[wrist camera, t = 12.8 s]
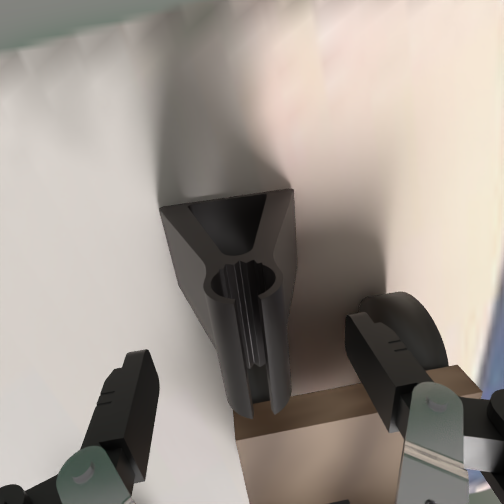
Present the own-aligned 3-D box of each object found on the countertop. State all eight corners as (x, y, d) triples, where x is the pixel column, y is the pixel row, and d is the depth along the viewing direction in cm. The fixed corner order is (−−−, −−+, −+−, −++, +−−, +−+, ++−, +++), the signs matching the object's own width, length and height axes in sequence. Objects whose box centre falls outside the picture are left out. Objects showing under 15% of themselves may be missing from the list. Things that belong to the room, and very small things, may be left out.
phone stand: (178, 282, 23) (155, 437, 13) (159, 206, 21) (109, 323, 10) (296, 264, 24) (366, 398, 13) (292, 188, 21) (378, 280, 11)
